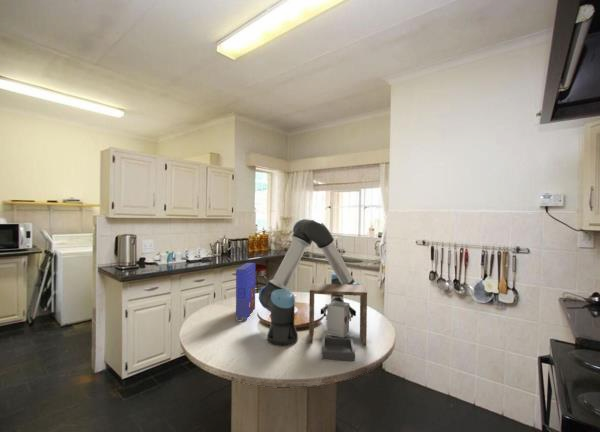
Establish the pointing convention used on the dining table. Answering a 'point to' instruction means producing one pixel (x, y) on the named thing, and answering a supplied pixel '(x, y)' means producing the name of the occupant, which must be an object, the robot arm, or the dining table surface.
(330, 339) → the tray
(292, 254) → the robot arm
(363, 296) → the tunnel
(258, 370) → the dining table surface
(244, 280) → the cereal box
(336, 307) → the supplement box
